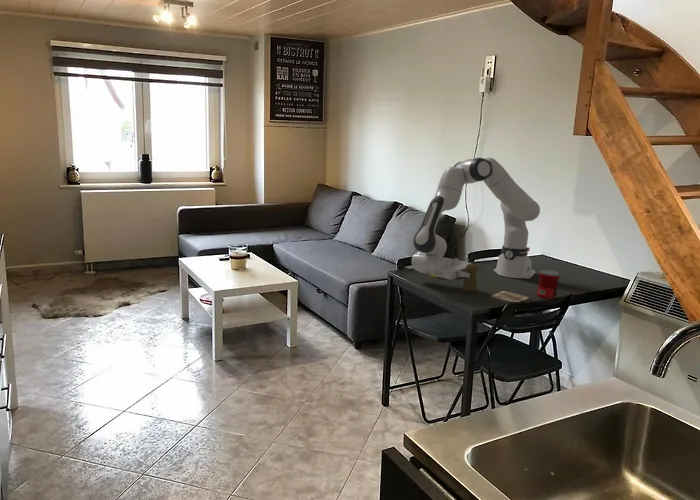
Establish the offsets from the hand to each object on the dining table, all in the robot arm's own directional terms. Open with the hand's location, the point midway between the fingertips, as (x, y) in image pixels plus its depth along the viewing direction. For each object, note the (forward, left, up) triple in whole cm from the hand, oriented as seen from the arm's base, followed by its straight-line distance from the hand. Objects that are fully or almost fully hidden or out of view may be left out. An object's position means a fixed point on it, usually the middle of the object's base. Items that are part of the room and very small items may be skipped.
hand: (473, 274), depth 245 cm
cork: (0, -1, -7) cm, 7 cm away
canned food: (-24, +24, -9) cm, 35 cm away
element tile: (-22, -27, -10) cm, 36 cm away
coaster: (-9, +14, -9) cm, 19 cm away
